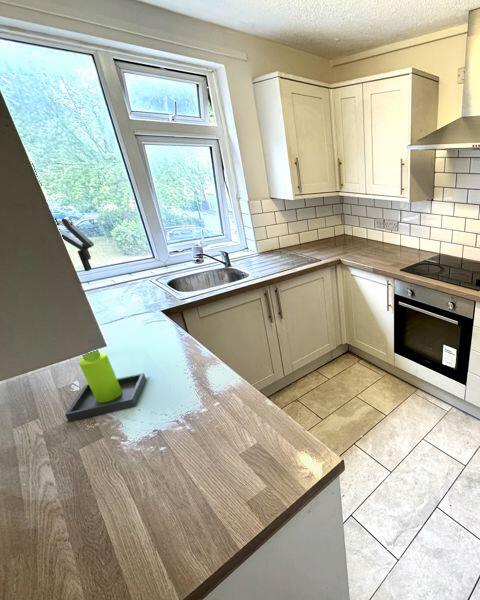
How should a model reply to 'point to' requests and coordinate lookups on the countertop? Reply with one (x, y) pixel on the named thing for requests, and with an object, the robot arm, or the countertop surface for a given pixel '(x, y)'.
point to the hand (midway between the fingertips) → (60, 272)
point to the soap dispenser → (100, 376)
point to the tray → (90, 407)
